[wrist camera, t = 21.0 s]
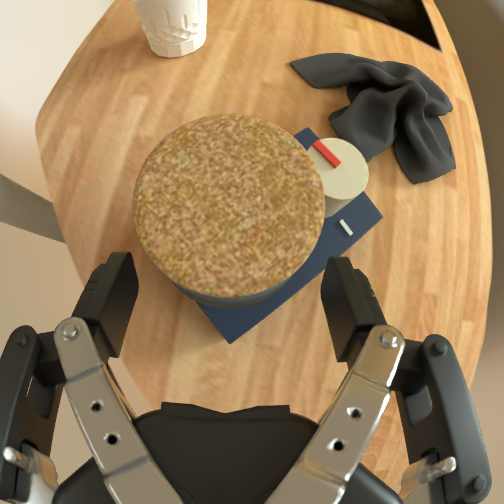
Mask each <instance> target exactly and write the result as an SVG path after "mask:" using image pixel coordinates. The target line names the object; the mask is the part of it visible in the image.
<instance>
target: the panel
mask: <svg viewBox="0 0 504 504" xmlns="http://www.w3.org/2000/svg"><path fill="white" fill-rule="evenodd" d="M293 137H294V138H295V139H296V140H297V141H298V142H299V143H300V144H301V145H302V146H303V147H304V148H305V150H306V151H308V149H309V148H310V146H311V145H312V144H313V143H314V142H315V141H317V140H320V139H319V138H318V137H317V136H316V135H315V134H314V133H313V132H312V130H311V129H310V128H309V127H307V128H306V129H304V130H302V131H301V132H299V133H297V134H296V135H294V136H293ZM382 218H383V216H382V215H381V213H380V212H379V211H378V209H377V208H376V207H375V205H374V204H373V203H372V201H371V200H370V199H369V198H368V196H367V195H366V194H365V192H364V191H362V192H361V193H360V194H359V195H358V196H357V197H355V198H354V199H353V200H352V201H350V202H349V203H348V204H347V205H345V206H344V207H343V208H341V209H340V210H339V211H338V212H336V213H335V214H334V215H332V216H330V217H327V218H324V222H323V226H322V230H321V233H320V236H319V238H318V240H317V243H316V245H315V247H314V249H313V251H312V252H311V254H310V255H309V257H308V258H307V260H306V261H305V262H304V263H303V265H302V266H301V267H300V268H299V269H298V270H297V271H296V272H295V273H294V274H293V275H292V277H291V278H290V279H289V281H288V282H287V283H286V284H285V285H284V286H283V288H282V289H281V290H279V291H278V292H277V293H276V294H274V295H273V296H272V297H270V298H269V299H267V300H265V301H263V302H261V303H259V304H257V305H253V306H250V307H247V308H241V309H218V308H214V307H209V306H206V305H203V304H201V303H199V302H197V301H196V302H197V304H198V305H199V306H200V308H201V309H202V310H203V312H204V313H205V314H206V315H207V317H208V318H209V319H210V321H211V322H212V323H213V324H214V326H215V327H216V328H217V329H218V331H219V332H220V333H221V334H222V336H223V337H224V338H225V339H226V341H227V342H228V343H229V344H231V343H233V342H234V341H235V340H237V339H238V338H239V337H241V336H242V335H243V334H245V333H246V332H247V331H249V330H250V329H251V328H252V327H254V326H255V325H256V324H258V323H259V322H260V321H261V320H263V319H264V318H265V317H267V316H268V315H269V314H270V313H272V312H273V311H274V310H275V309H277V308H278V307H279V306H280V305H282V304H283V303H284V302H285V301H287V300H288V299H289V298H290V297H292V296H293V295H294V294H295V293H296V292H298V291H299V290H300V289H301V288H303V287H304V286H305V285H306V284H307V283H309V282H310V281H311V280H312V279H313V278H315V277H316V276H317V275H318V274H319V273H321V272H322V271H323V270H324V269H325V268H326V265H327V261H328V258H329V257H330V256H336V257H339V256H340V255H342V254H343V253H344V252H345V251H346V250H347V249H348V248H350V247H351V246H352V245H353V244H354V243H355V242H356V241H358V240H359V239H360V238H361V237H362V236H363V235H364V234H365V233H366V232H368V231H369V230H370V229H371V228H372V227H373V226H374V225H375V224H376V223H378V222H379V221H380V220H381V219H382Z"/></svg>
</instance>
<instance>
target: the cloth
mask: <svg viewBox="0 0 504 504" xmlns="http://www.w3.org/2000/svg"><path fill="white" fill-rule="evenodd" d="M291 65H292V66H293V67H294V69H295V70H296V71H297V72H298V73H299V74H300V75H301V76H302V77H303V78H304V79H305V80H306V81H307V82H308V83H309V84H310V85H312V86H313V87H315V88H327V87H340V86H343V85H347V84H349V87H348V91H347V95H348V98H349V100H350V102H351V104H350V105H349V106H347V107H344V108H342V109H340V110H338V111H335V112H333V113H332V114H331V115H329V117H328V120H329V121H330V124H331V126H332V127H333V128H334V130H335V131H336V133H337V134H338V136H339V137H340V139H341V140H344V141H346V142H348V143H350V144H352V145H353V146H354V147H355V148H356V149H358V151H359V152H360V153H361V154H362V156H363V157H364V159H365V161H366V164H367V162H368V161H369V160H371V159H372V158H373V157H374V156H376V155H377V154H379V153H381V152H382V151H384V150H386V149H387V148H388V147H390V146H391V145H392V144H393V143H394V146H395V155H396V158H397V161H398V163H399V165H400V167H401V168H402V170H403V171H404V173H405V174H406V175H407V177H408V178H409V179H410V180H411V181H412V182H413V183H414V184H417V183H421V182H426V181H430V180H433V179H435V178H437V177H440V176H441V175H444V174H446V173H448V172H449V171H451V170H452V169H456V164H455V158H454V155H453V151H452V147H451V144H450V141H449V138H448V135H447V132H446V130H445V128H444V126H443V124H442V122H441V120H440V119H439V117H438V116H442V115H443V116H444V115H445V114H447V112H451V111H452V109H453V106H452V104H451V102H450V100H449V98H448V96H447V95H446V94H445V93H444V92H443V91H442V89H441V88H440V87H439V86H438V85H436V84H435V83H434V82H433V81H432V80H431V79H430V78H429V77H427V76H426V75H425V74H424V73H423V72H421V71H420V70H419V69H417V68H416V67H414V66H411V65H408V64H403V63H399V62H394V61H386V62H382V63H381V62H380V61H376V60H372V59H368V58H363V57H359V56H354V55H351V54H344V53H327V54H320V55H315V56H311V57H307V58H303V59H300V60H296V61H292V62H291Z"/></svg>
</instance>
